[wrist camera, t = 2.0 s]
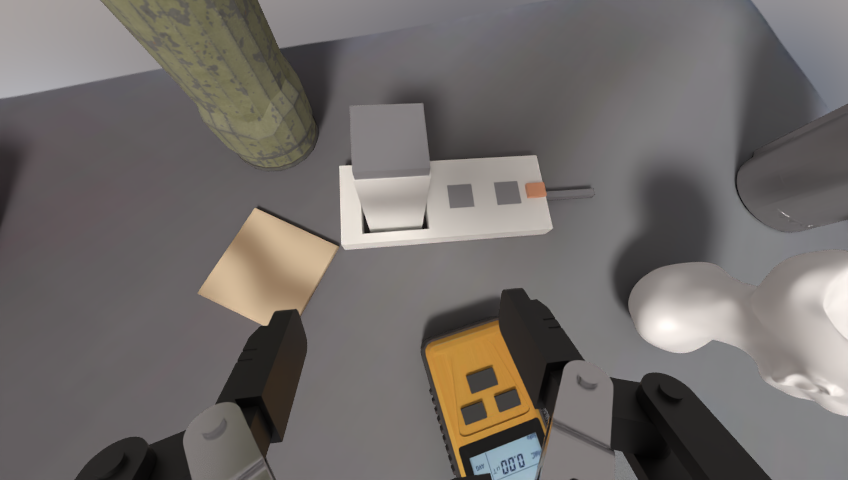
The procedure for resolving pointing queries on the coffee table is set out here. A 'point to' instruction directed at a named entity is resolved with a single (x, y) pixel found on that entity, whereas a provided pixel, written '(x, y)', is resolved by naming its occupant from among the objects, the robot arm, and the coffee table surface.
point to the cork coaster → (268, 268)
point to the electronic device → (483, 403)
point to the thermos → (228, 74)
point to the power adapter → (390, 164)
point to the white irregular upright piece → (758, 319)
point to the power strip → (464, 203)
